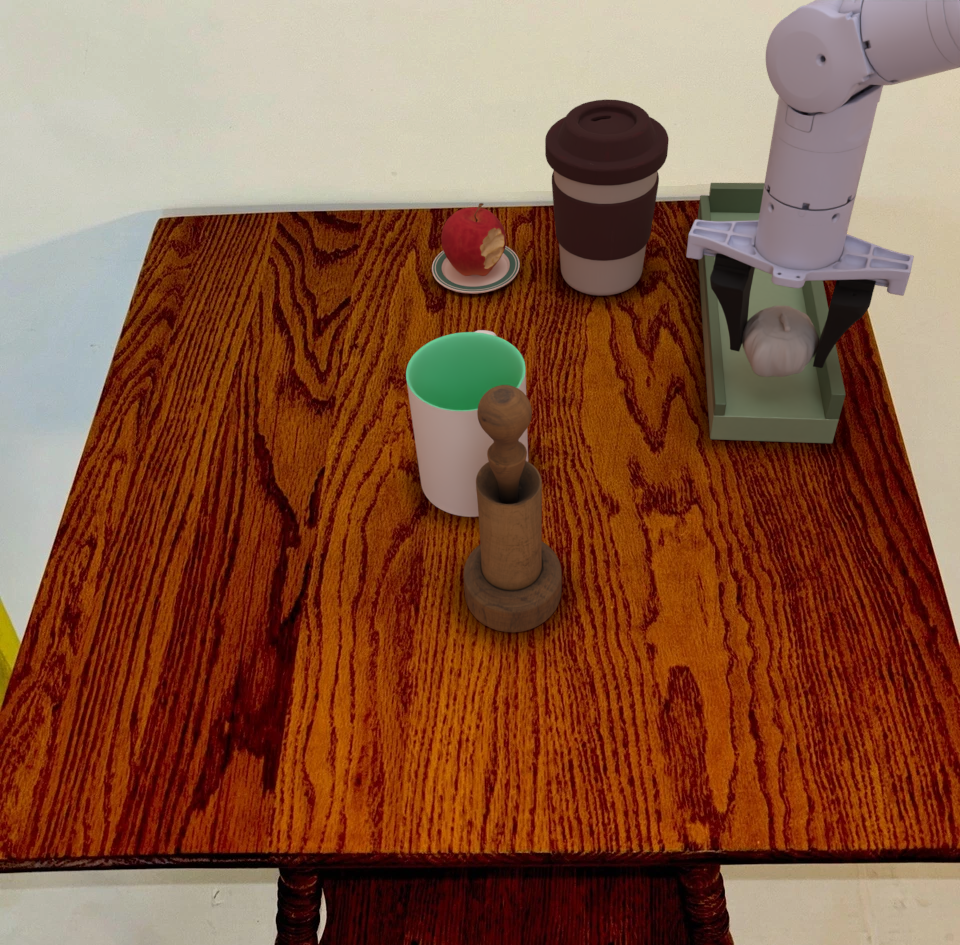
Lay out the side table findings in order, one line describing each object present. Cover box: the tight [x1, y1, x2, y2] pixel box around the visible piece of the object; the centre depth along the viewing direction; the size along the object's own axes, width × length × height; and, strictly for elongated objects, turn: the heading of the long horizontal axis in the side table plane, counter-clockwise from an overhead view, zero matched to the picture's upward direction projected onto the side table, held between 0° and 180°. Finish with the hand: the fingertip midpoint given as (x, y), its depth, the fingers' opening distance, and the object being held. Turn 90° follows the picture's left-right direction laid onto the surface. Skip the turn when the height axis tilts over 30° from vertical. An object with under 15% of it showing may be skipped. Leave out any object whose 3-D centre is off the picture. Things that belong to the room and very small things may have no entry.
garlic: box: [742, 305, 820, 377], centre depth 75 cm, size 6×5×5 cm
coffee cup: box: [544, 99, 670, 296], centre depth 88 cm, size 10×10×15 cm
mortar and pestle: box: [463, 385, 563, 633], centre depth 63 cm, size 7×6×18 cm
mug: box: [405, 329, 529, 518], centre depth 75 cm, size 12×8×10 cm
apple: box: [431, 202, 520, 294], centre depth 92 cm, size 8×8×6 cm
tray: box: [697, 182, 846, 444], centre depth 86 cm, size 28×9×5 cm, turn 174°
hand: (777, 350), depth 76 cm, fingers closed on garlic, 5 cm apart
